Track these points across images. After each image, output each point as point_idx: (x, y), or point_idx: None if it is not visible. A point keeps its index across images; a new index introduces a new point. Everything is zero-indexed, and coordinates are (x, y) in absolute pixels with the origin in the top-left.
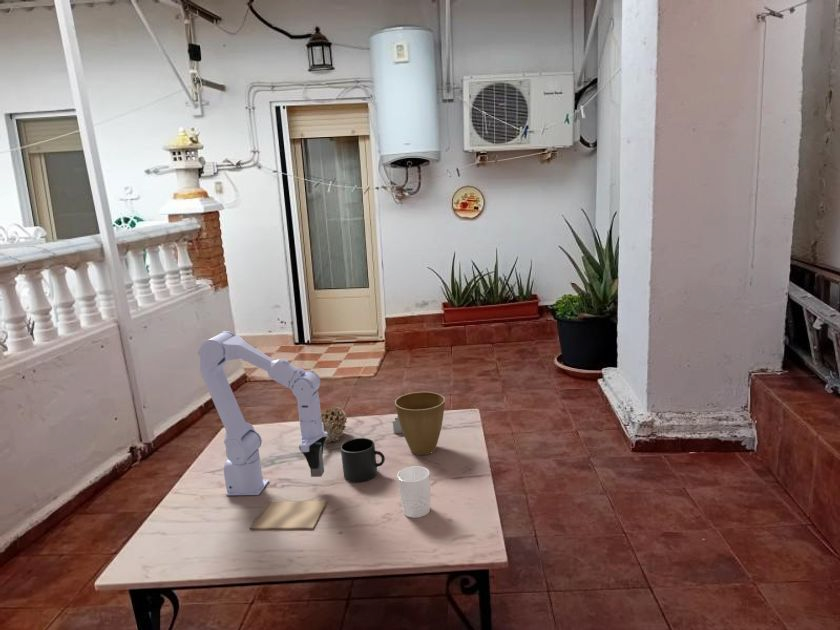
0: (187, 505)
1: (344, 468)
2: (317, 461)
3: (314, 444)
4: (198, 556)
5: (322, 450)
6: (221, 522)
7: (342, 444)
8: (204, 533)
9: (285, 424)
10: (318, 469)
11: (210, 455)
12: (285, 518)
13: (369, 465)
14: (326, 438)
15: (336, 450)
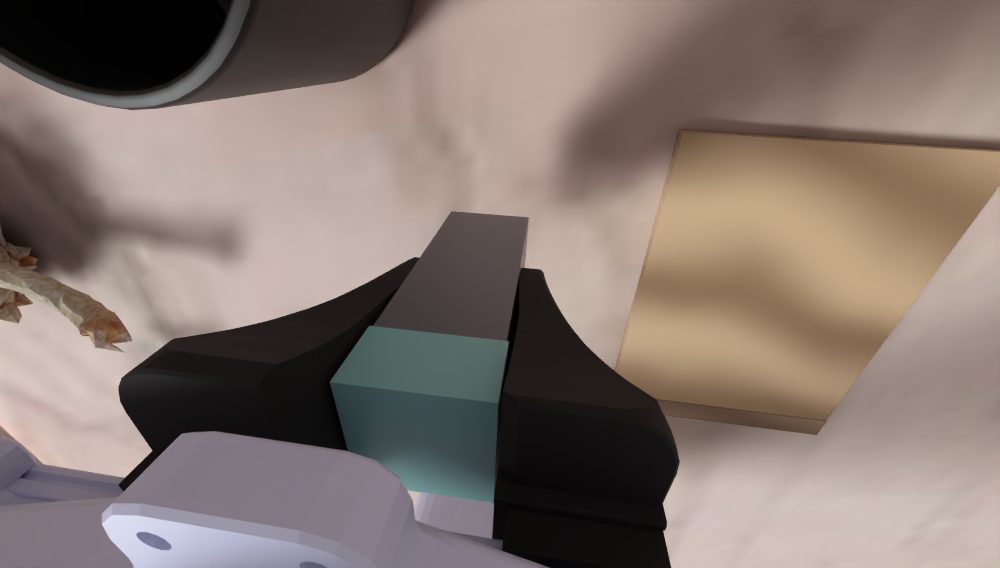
0: None
1: (351, 55)
2: (554, 301)
3: (542, 500)
4: (921, 522)
5: (370, 299)
6: (706, 498)
7: (91, 96)
8: (763, 524)
9: (12, 426)
10: (523, 258)
11: None
12: (803, 321)
13: None
14: (19, 276)
15: (77, 198)
